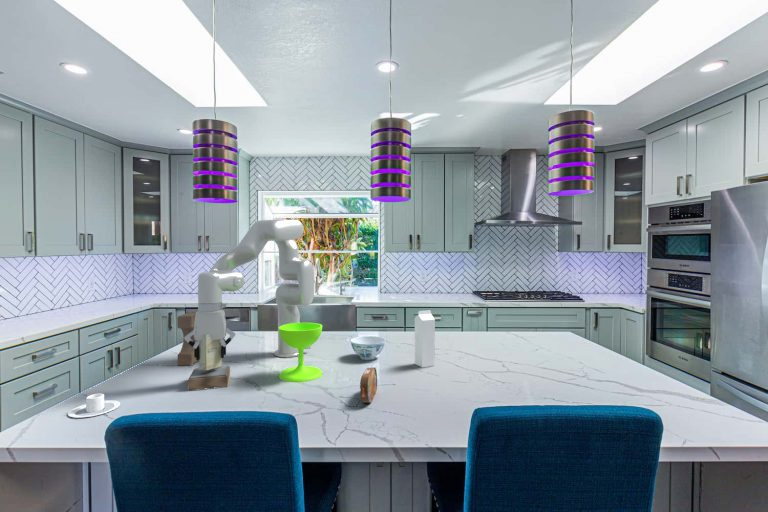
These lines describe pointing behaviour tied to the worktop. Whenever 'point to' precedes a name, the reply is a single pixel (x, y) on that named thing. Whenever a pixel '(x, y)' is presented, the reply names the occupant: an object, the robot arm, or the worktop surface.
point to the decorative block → (187, 350)
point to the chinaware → (368, 346)
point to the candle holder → (94, 405)
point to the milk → (424, 339)
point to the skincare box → (209, 353)
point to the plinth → (209, 378)
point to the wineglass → (300, 349)
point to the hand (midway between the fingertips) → (210, 357)
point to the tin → (368, 385)
